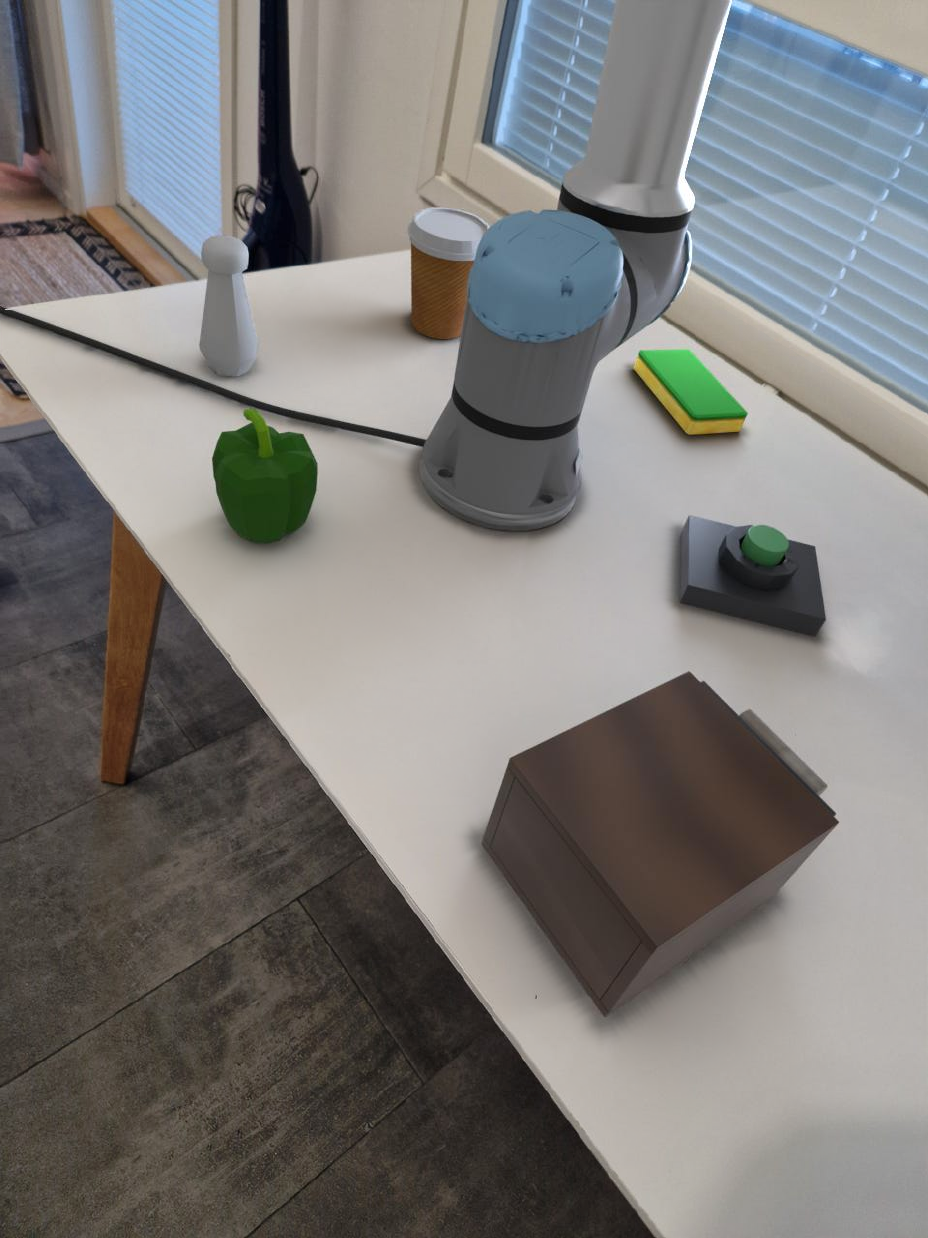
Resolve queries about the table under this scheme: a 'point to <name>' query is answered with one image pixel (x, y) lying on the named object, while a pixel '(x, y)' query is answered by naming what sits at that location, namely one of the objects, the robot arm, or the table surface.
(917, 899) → the table surface
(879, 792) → the table surface
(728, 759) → the cabinet
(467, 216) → the disposable coffee cup
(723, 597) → the control block
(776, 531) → the button
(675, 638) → the table surface
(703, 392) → the dish sponge
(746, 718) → the drawer
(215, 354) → the salt shaker
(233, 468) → the bell pepper
